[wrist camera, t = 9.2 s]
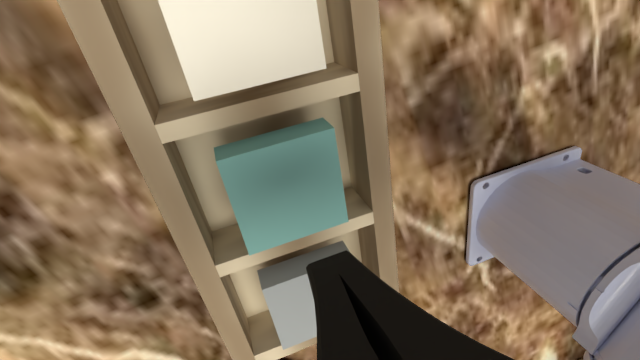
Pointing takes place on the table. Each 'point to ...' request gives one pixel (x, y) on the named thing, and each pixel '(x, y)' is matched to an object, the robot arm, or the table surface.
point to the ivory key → (243, 42)
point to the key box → (237, 124)
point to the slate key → (293, 295)
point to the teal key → (284, 184)
